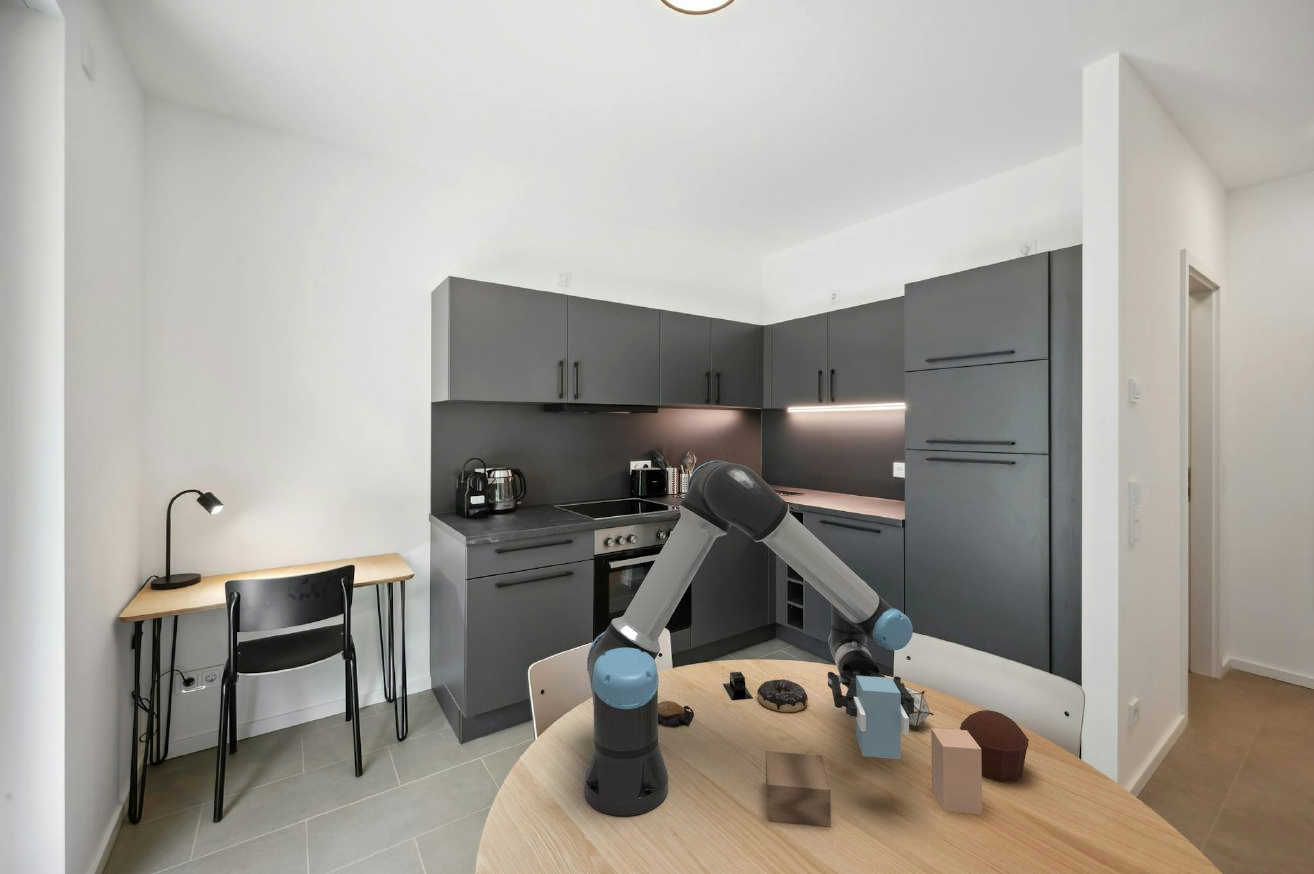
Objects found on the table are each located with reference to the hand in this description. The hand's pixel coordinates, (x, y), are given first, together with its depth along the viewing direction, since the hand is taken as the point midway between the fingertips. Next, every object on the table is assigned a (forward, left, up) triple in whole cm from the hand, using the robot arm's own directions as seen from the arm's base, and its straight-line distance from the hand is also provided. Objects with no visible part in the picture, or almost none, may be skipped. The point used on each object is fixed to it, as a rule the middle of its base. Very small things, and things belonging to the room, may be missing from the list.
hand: (884, 724), depth 92 cm
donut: (-14, +41, -17) cm, 46 cm away
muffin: (+24, +19, -17) cm, 35 cm away
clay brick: (+13, +8, -16) cm, 22 cm away
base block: (-14, +3, -16) cm, 22 cm away
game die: (+13, +34, -17) cm, 40 cm away
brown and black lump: (-40, +30, -17) cm, 53 cm away
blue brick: (0, +5, -7) cm, 8 cm away
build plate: (-25, +45, -17) cm, 54 cm away
